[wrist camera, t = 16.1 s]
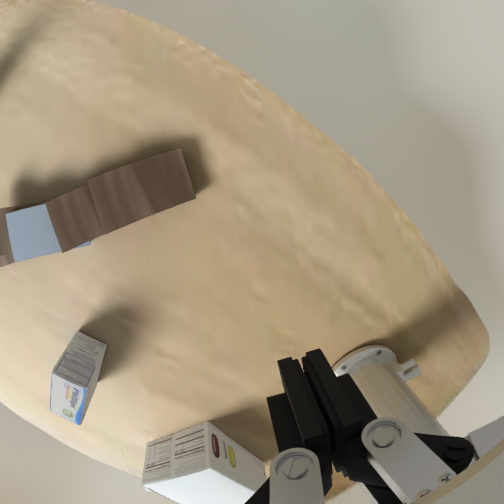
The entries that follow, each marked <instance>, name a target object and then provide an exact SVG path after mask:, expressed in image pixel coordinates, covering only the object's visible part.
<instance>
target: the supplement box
mask: <svg viewBox="0 0 504 504" xmlns="http://www.w3.org/2000/svg"><path fill="white" fill-rule="evenodd" d="M266 480H267V476H266V472H265V468H264V463H263V461H261V460H260V459H258V458H257V457H255V456H254V455H252V454H251V453H250V452H248V451H247V450H245V449H244V448H243V447H241V446H240V445H238V444H237V443H236V442H234V441H233V440H232V439H230V438H229V437H228V436H227V435H225V434H224V433H223V432H221V431H220V430H219V429H218V428H216V427H215V426H214V425H212V424H211V423H210V422H209V421H206V422H203V423H201V424H198V425H196V426H193V427H191V428H188V429H185V430H183V431H180V432H178V433H175V434H172V435H169V436H167V437H164V438H161V439H158V440H155V441H152V442H149V443H147V445H146V454H145V462H144V469H143V477H142V486H144V487H146V488H148V489H150V490H152V491H154V492H156V493H158V494H160V495H162V496H164V497H166V498H168V499H170V500H173V501H174V502H177V503H179V504H244V503H245V502H246V501H247V500H248V499H249V498H250V497H251V496H252V495H253V494H254V493H255V492H256V491H257V490H258V489H259V488H260V487H261V486H262V485H263V484H264V482H265V481H266Z"/></svg>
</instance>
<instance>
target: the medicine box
mask: <svg viewBox="0 0 504 504" xmlns="http://www.w3.org/2000/svg"><path fill="white" fill-rule="evenodd" d="M106 348H107V345H106V344H104V343H102V342H100V341H97V340H95V339H93V338H91V337H89V336H87V335H85V334H83V333H81V332H79V331H77V332H76V334H75V335H74V337H73V339H72V340H71V342H70V343H69V345H68V346H67V348H66V349H65V351H64V352H63V354H62V356H61V357H60V359H59V360H58V362H57V364H56V365H55V367H54V369H53V371H52V380H51V399H50V410H51V411H52V412H54V413H56V414H57V415H59V416H61V417H63V418H65V419H67V420H69V421H71V422H73V423H75V424H78V425H81V424H82V421H83V419H84V416H85V414H86V411H87V408H88V406H89V403H90V401H91V398H92V396H93V393H94V391H95V388H96V385H97V382H98V377H99V373H100V369H101V365H102V361H103V357H104V354H105V350H106Z"/></svg>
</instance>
